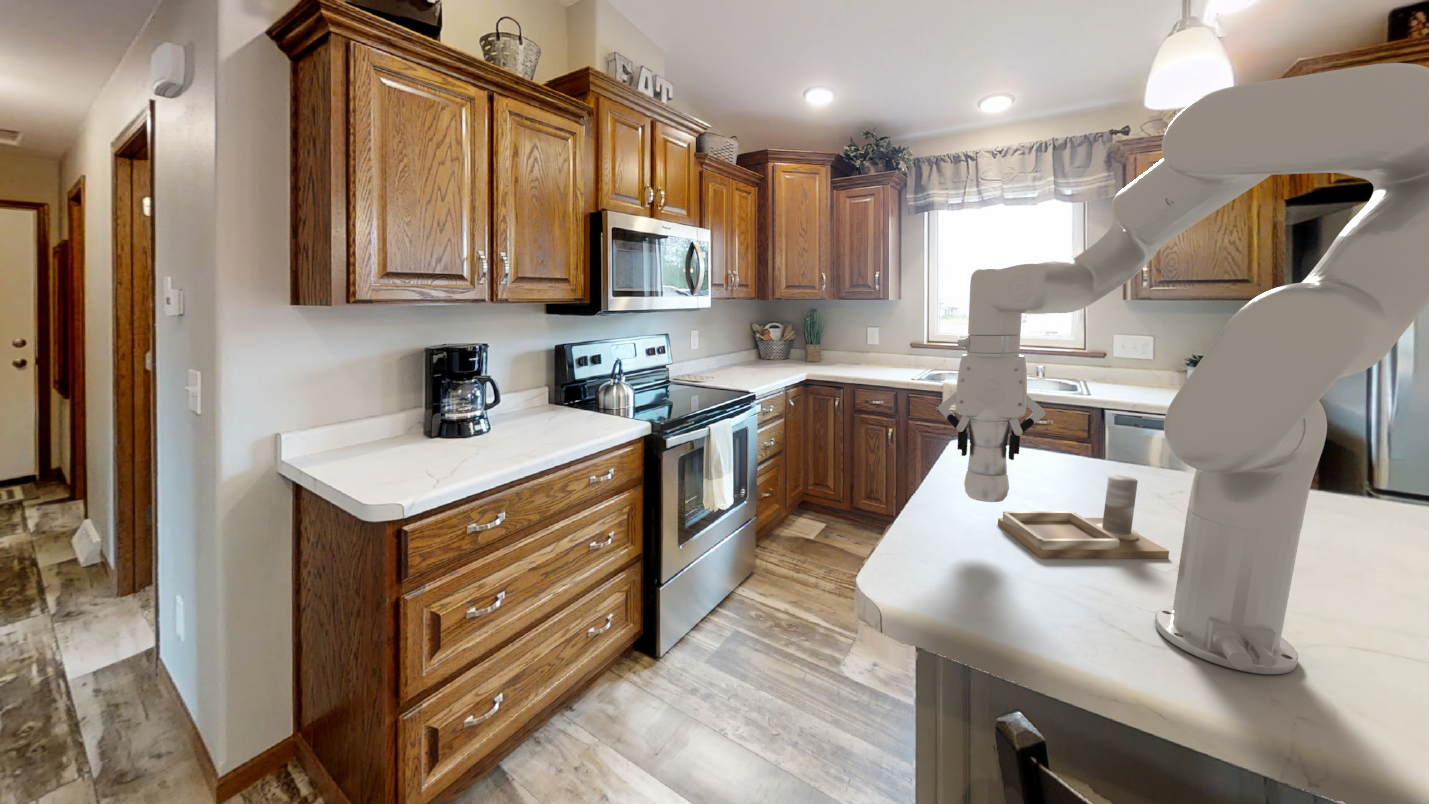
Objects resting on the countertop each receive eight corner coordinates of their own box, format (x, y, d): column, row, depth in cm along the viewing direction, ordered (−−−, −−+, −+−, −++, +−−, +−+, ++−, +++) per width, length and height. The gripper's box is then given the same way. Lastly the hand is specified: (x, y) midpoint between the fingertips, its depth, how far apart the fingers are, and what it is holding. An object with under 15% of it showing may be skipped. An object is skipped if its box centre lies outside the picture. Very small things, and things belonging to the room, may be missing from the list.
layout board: (1041, 558, 90) (1047, 492, 88) (997, 524, 103) (1002, 467, 101) (1168, 558, 89) (1177, 492, 88) (1107, 524, 103) (1114, 466, 101)
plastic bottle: (1013, 507, 90) (1021, 383, 88) (968, 505, 92) (974, 382, 89) (1001, 495, 97) (1008, 378, 94) (959, 493, 98) (964, 378, 95)
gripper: (933, 347, 91) (928, 456, 94) (1058, 348, 84) (1050, 466, 86) (937, 345, 98) (933, 447, 100) (1053, 345, 90) (1046, 455, 93)
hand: (987, 455), depth 93 cm, fingers closed on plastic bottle, 6 cm apart
